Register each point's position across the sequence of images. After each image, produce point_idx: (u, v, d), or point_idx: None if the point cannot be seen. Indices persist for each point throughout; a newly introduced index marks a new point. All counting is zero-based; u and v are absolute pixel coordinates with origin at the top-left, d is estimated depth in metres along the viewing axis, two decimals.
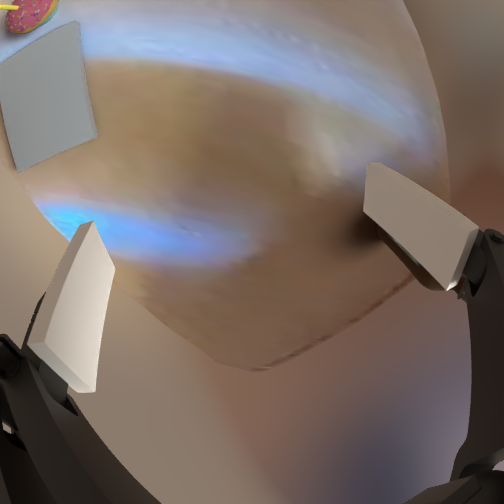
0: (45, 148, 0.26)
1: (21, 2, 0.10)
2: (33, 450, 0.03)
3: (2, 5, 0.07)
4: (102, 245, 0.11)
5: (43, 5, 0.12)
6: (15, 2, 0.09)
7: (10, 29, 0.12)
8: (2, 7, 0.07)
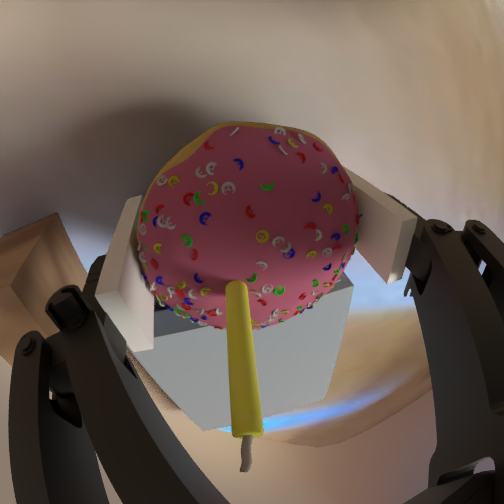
0: None
1: (258, 271, 0.08)
2: (87, 408, 0.04)
3: (258, 398, 0.05)
4: None
5: (333, 285, 0.10)
6: (208, 248, 0.07)
7: None
8: None
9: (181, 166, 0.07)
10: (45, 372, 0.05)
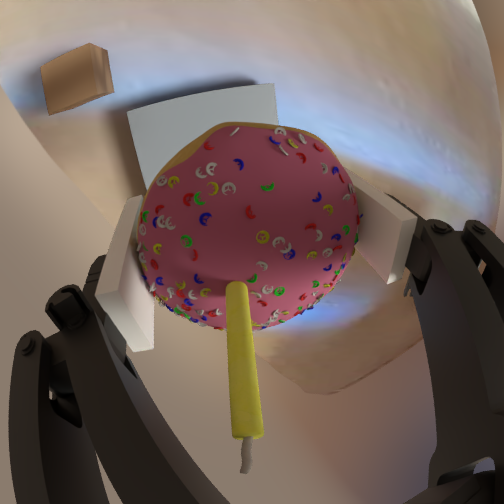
0: None
1: (258, 272, 0.08)
2: (87, 408, 0.04)
3: (258, 399, 0.05)
4: None
5: (333, 286, 0.10)
6: (208, 248, 0.07)
7: (187, 318, 0.10)
8: None
9: (181, 166, 0.07)
10: (45, 372, 0.05)
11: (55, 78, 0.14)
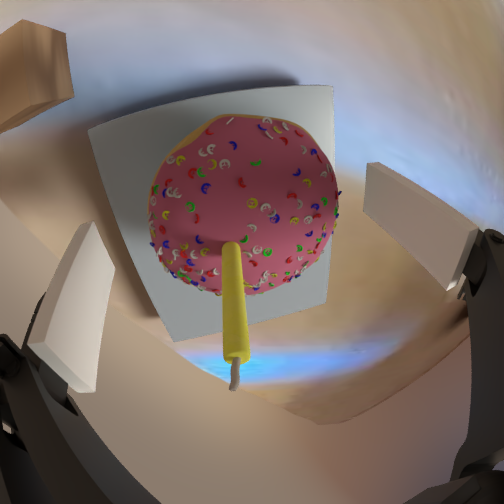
0: None
1: (249, 234, 0.09)
2: (33, 450, 0.03)
3: (246, 329, 0.07)
4: (102, 245, 0.11)
5: (317, 255, 0.12)
6: (207, 212, 0.09)
7: (189, 283, 0.12)
8: None
9: (187, 148, 0.09)
10: None
11: None
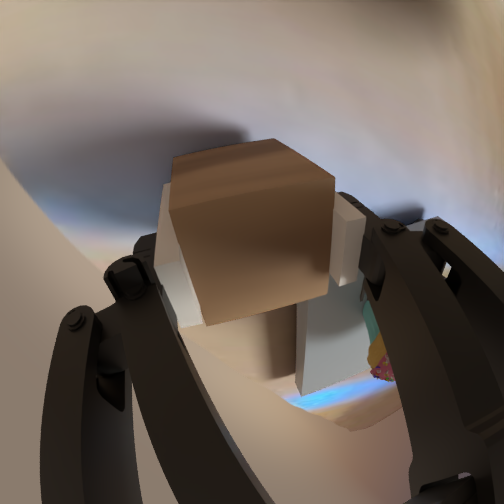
0: (353, 370, 0.26)
1: None
2: (141, 380, 0.04)
3: None
4: None
5: None
6: None
7: (383, 379, 0.16)
8: None
9: None
10: (94, 351, 0.05)
11: (228, 255, 0.08)
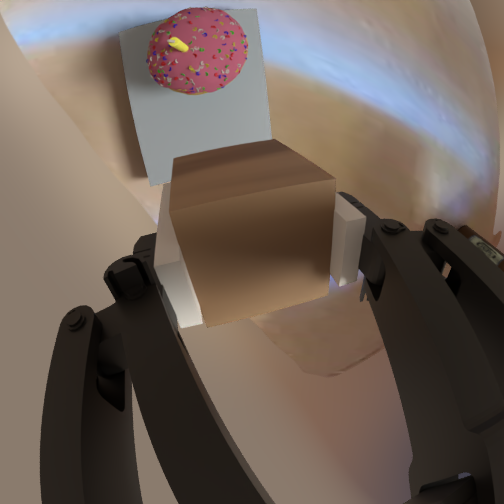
0: None
1: (193, 41, 0.15)
2: (140, 380, 0.04)
3: (180, 42, 0.12)
4: None
5: (235, 65, 0.18)
6: (175, 34, 0.14)
7: (163, 81, 0.17)
8: (180, 46, 0.13)
9: None
10: (94, 351, 0.05)
11: (228, 256, 0.08)
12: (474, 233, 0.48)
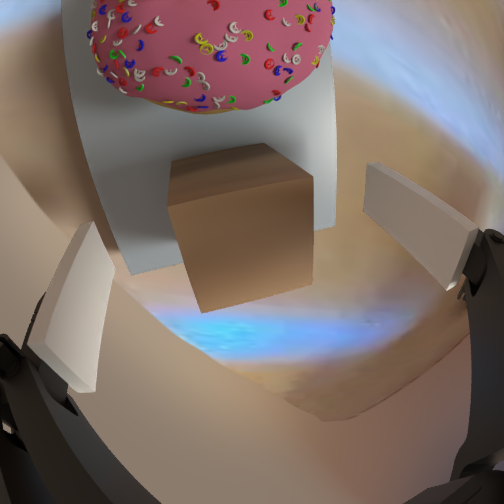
0: None
1: None
2: (33, 450, 0.03)
3: None
4: (102, 245, 0.11)
5: (314, 46, 0.06)
6: None
7: (125, 81, 0.06)
8: None
9: None
10: None
11: (219, 246, 0.10)
12: None
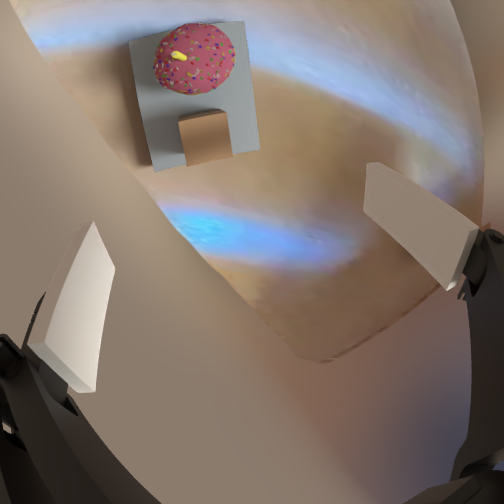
0: None
1: (190, 52, 0.20)
2: (33, 450, 0.03)
3: (180, 54, 0.17)
4: (102, 245, 0.11)
5: (224, 70, 0.22)
6: (176, 46, 0.19)
7: (166, 84, 0.22)
8: (180, 57, 0.17)
9: None
10: None
11: (194, 136, 0.25)
12: None
